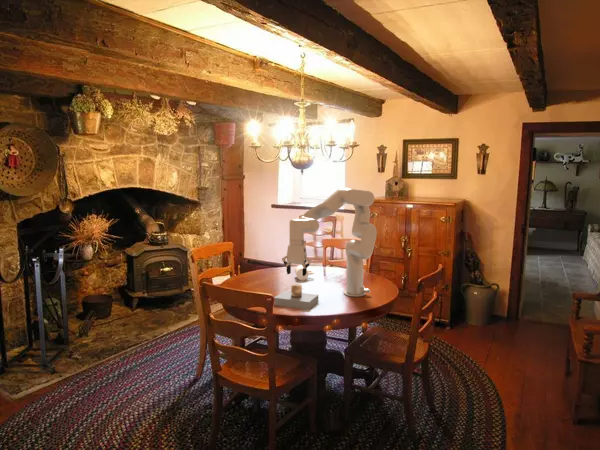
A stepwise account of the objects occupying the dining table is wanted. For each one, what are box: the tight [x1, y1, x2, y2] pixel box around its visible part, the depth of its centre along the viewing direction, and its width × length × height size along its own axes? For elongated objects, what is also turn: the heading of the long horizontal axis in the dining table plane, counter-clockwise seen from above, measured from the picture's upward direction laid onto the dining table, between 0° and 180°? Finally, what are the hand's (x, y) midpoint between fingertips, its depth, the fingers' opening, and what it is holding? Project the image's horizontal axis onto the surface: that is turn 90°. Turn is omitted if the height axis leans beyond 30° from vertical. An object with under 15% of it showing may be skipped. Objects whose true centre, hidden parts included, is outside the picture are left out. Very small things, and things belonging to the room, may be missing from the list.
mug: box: [294, 264, 315, 281], centre depth 287 cm, size 12×10×8 cm
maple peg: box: [290, 283, 303, 298], centre depth 233 cm, size 6×6×9 cm
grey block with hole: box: [273, 290, 319, 311], centre depth 234 cm, size 20×14×4 cm
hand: (296, 274), depth 232 cm, fingers open, 8 cm apart
